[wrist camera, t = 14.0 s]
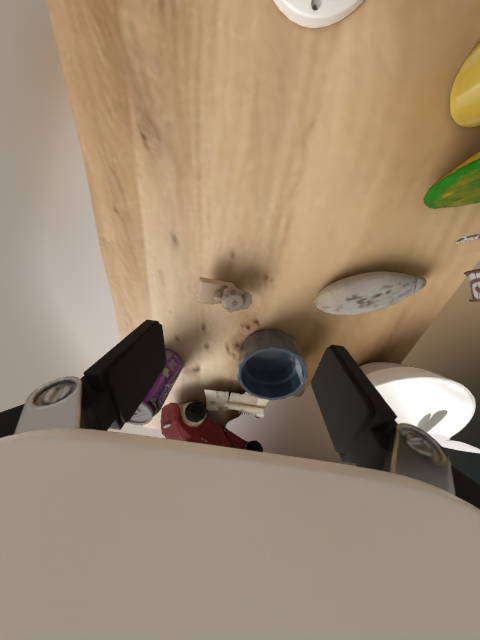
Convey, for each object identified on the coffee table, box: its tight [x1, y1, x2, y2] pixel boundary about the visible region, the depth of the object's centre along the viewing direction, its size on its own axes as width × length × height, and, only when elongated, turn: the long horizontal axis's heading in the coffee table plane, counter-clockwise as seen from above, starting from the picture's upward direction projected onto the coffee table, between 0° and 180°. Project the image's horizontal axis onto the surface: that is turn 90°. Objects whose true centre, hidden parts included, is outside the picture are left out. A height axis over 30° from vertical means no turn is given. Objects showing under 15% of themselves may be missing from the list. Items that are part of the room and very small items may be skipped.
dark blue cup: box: [237, 330, 308, 400], centre depth 31 cm, size 12×12×6 cm
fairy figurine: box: [417, 410, 480, 453], centre depth 25 cm, size 6×7×7 cm
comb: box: [204, 389, 269, 417], centre depth 39 cm, size 15×2×10 cm
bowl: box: [360, 362, 475, 438], centre depth 31 cm, size 19×20×8 cm
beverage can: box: [127, 350, 183, 425], centre depth 31 cm, size 7×7×12 cm
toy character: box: [197, 277, 252, 312], centre depth 26 cm, size 4×8×6 cm, turn 75°
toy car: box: [161, 401, 263, 452], centre depth 40 cm, size 15×28×10 cm, turn 42°
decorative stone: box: [314, 271, 426, 315], centre depth 25 cm, size 6×16×3 cm, turn 105°
